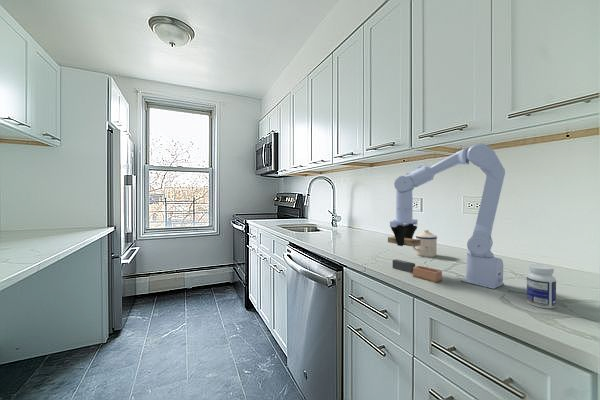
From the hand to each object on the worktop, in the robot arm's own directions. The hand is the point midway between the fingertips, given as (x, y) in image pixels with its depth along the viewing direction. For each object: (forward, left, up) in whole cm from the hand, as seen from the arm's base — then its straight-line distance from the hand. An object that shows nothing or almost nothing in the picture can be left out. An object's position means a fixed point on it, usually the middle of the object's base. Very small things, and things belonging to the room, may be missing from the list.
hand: (403, 244), depth 104 cm
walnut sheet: (0, 0, 0) cm, 0 cm away
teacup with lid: (+9, -29, -10) cm, 32 cm away
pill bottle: (-40, 0, -10) cm, 41 cm away
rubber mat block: (0, 0, -9) cm, 9 cm away
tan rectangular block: (-11, +3, -9) cm, 15 cm away
